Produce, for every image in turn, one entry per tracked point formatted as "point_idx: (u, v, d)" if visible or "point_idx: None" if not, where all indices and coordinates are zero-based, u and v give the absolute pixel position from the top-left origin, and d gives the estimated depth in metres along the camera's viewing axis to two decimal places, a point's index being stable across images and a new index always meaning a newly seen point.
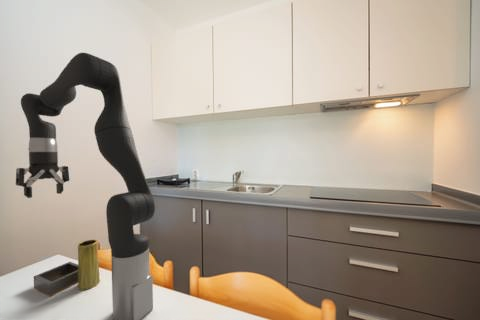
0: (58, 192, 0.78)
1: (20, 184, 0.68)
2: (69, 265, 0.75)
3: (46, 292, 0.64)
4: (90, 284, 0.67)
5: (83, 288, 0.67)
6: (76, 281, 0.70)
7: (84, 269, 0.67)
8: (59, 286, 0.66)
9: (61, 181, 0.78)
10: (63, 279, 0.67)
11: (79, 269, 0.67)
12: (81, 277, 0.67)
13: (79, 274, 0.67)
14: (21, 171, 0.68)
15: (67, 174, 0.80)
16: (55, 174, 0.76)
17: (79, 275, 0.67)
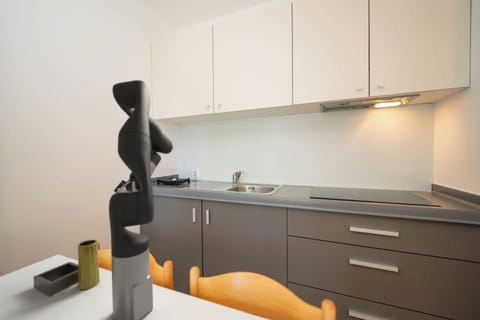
0: None
1: (114, 190, 0.85)
2: (69, 265, 0.75)
3: (46, 292, 0.64)
4: (90, 284, 0.67)
5: (83, 288, 0.67)
6: (76, 281, 0.70)
7: (84, 269, 0.67)
8: (59, 286, 0.66)
9: None
10: (63, 279, 0.67)
11: (79, 269, 0.67)
12: (81, 277, 0.67)
13: (79, 274, 0.67)
14: (121, 182, 0.88)
15: (141, 188, 0.82)
16: (133, 185, 0.83)
17: (79, 275, 0.67)
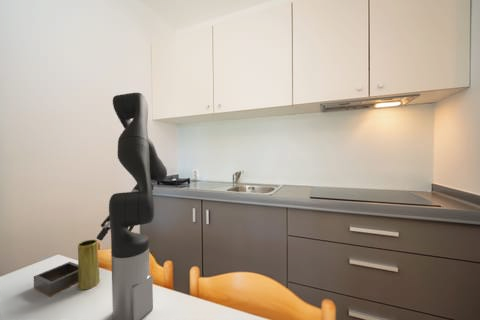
0: None
1: (101, 224, 0.80)
2: (69, 265, 0.75)
3: (46, 292, 0.64)
4: (90, 284, 0.67)
5: (83, 288, 0.67)
6: (76, 281, 0.70)
7: (84, 269, 0.67)
8: (59, 286, 0.66)
9: None
10: (63, 279, 0.67)
11: (79, 269, 0.67)
12: (81, 277, 0.67)
13: (79, 274, 0.67)
14: None
15: None
16: None
17: (79, 275, 0.67)
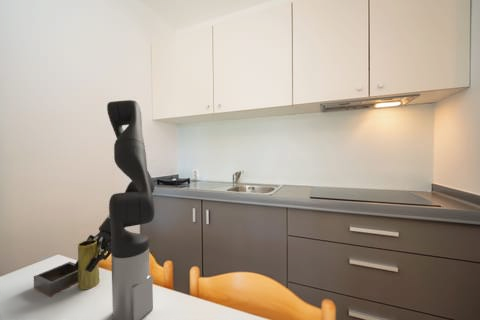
0: None
1: None
2: (69, 265, 0.75)
3: (46, 292, 0.64)
4: (90, 284, 0.67)
5: (83, 288, 0.67)
6: (76, 281, 0.70)
7: (84, 269, 0.67)
8: (59, 286, 0.66)
9: (95, 255, 0.68)
10: (63, 279, 0.67)
11: (79, 269, 0.67)
12: (81, 277, 0.67)
13: (79, 274, 0.67)
14: (88, 237, 0.75)
15: (105, 249, 0.69)
16: (99, 244, 0.71)
17: (79, 275, 0.67)
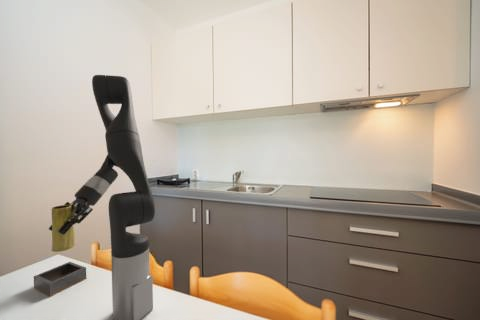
0: None
1: None
2: (69, 265, 0.75)
3: (46, 292, 0.64)
4: (64, 246, 0.68)
5: (56, 250, 0.68)
6: (76, 281, 0.70)
7: (57, 231, 0.68)
8: (59, 286, 0.66)
9: (69, 218, 0.69)
10: (63, 279, 0.67)
11: (53, 231, 0.68)
12: (54, 239, 0.68)
13: (53, 236, 0.68)
14: (65, 204, 0.76)
15: (78, 213, 0.70)
16: (74, 209, 0.72)
17: (53, 238, 0.68)
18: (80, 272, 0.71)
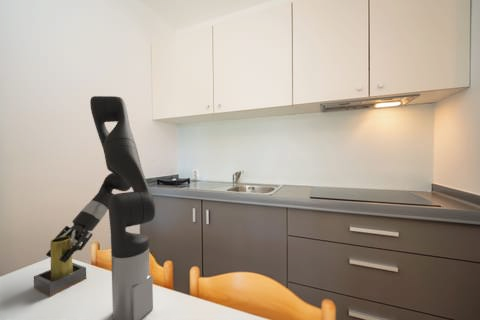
0: None
1: None
2: None
3: (46, 292, 0.64)
4: None
5: None
6: (76, 281, 0.70)
7: (56, 265, 0.68)
8: (59, 286, 0.66)
9: (70, 246, 0.69)
10: (63, 279, 0.67)
11: (51, 265, 0.68)
12: (53, 273, 0.67)
13: (51, 270, 0.68)
14: (64, 228, 0.76)
15: (79, 240, 0.70)
16: (73, 236, 0.71)
17: (51, 271, 0.68)
18: (80, 272, 0.71)
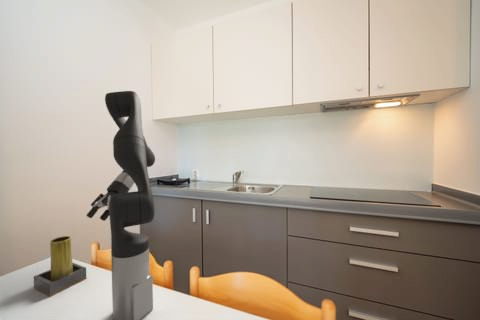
0: None
1: (91, 204, 0.85)
2: None
3: (46, 292, 0.64)
4: None
5: None
6: (76, 281, 0.70)
7: (56, 265, 0.68)
8: (59, 286, 0.66)
9: (108, 207, 0.81)
10: (63, 279, 0.67)
11: (51, 265, 0.68)
12: (53, 273, 0.67)
13: (51, 270, 0.68)
14: (99, 195, 0.88)
15: None
16: (109, 200, 0.83)
17: (51, 271, 0.68)
18: (80, 272, 0.71)
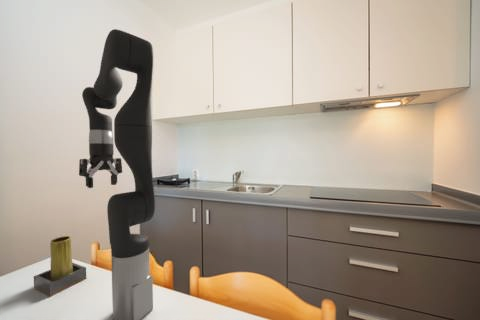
0: (113, 183, 0.80)
1: (84, 174, 0.70)
2: None
3: (46, 292, 0.64)
4: None
5: None
6: (76, 281, 0.70)
7: (56, 265, 0.68)
8: (59, 286, 0.66)
9: (116, 173, 0.81)
10: (63, 279, 0.67)
11: (51, 265, 0.68)
12: (53, 273, 0.67)
13: (51, 270, 0.68)
14: (85, 162, 0.70)
15: (120, 166, 0.82)
16: (111, 166, 0.78)
17: (51, 271, 0.68)
18: (80, 272, 0.71)
